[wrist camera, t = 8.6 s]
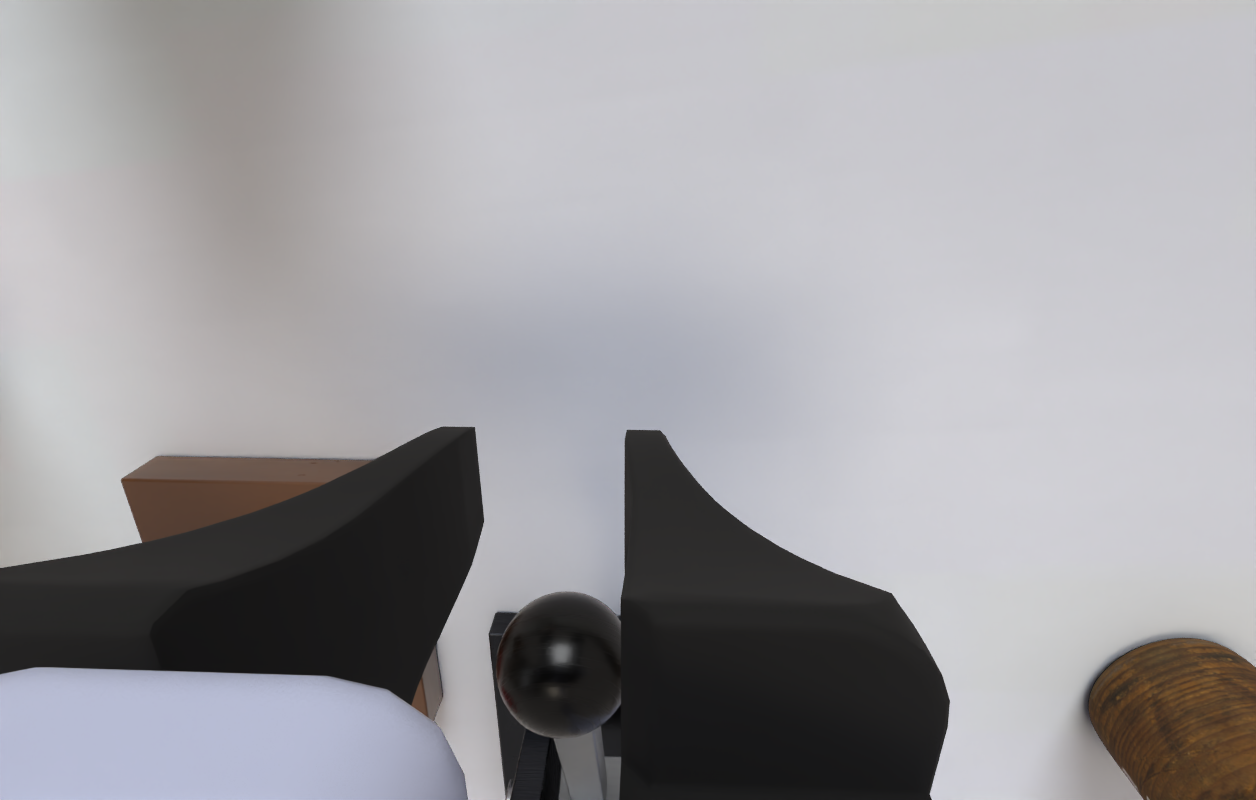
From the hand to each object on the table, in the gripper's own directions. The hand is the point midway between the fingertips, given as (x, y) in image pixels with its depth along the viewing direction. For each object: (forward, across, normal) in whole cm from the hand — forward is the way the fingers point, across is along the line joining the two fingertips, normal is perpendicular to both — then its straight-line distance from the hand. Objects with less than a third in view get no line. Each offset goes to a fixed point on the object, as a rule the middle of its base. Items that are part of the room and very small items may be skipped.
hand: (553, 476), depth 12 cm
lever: (+4, 0, +10) cm, 11 cm away
